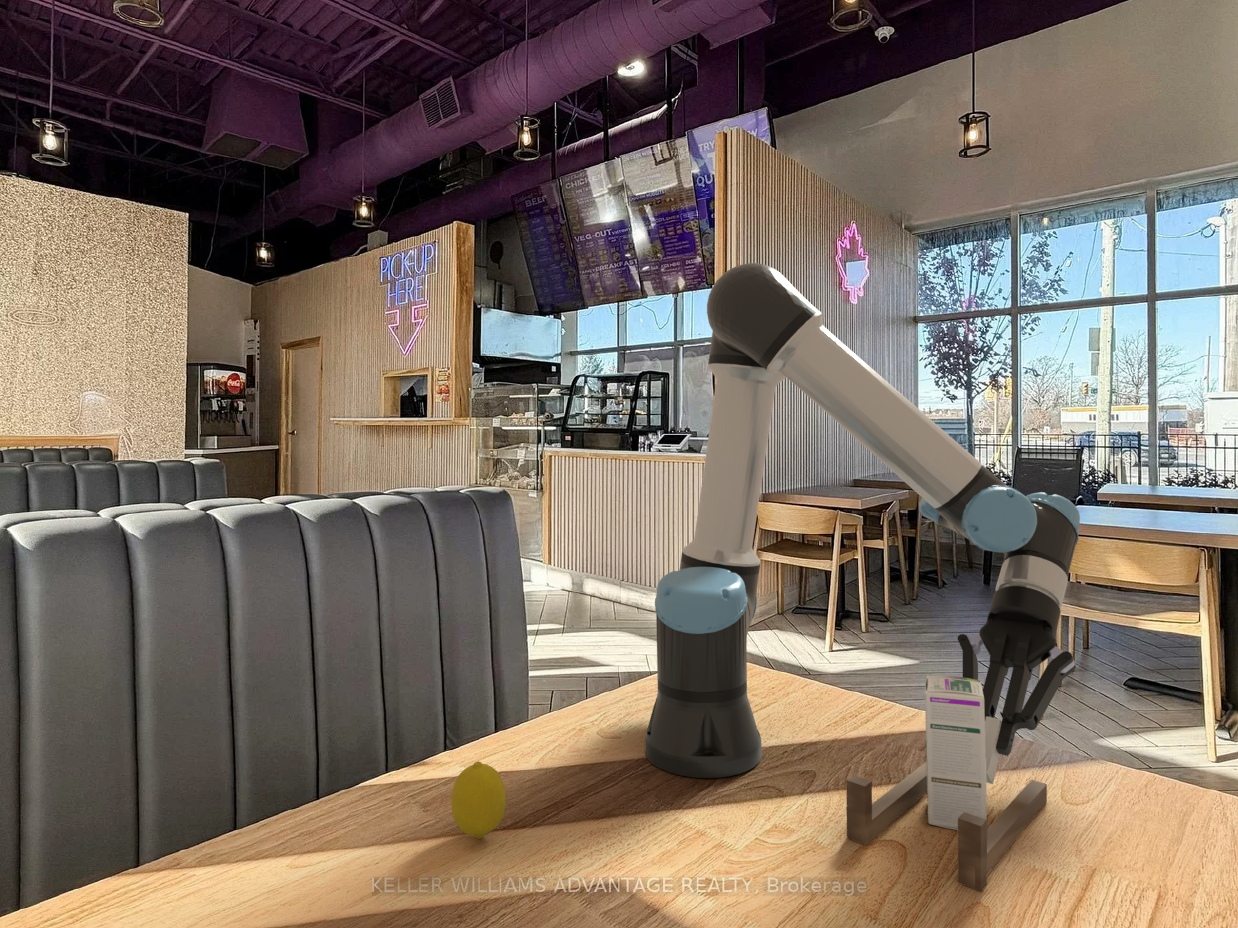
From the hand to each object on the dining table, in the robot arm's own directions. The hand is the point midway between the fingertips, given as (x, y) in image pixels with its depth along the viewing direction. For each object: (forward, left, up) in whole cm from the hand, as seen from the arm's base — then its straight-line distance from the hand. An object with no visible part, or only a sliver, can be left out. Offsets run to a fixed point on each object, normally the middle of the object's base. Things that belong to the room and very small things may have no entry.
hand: (982, 776), depth 81 cm
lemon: (-35, -42, -3) cm, 55 cm away
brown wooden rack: (-1, -5, -3) cm, 6 cm away
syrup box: (-1, -5, -3) cm, 6 cm away
